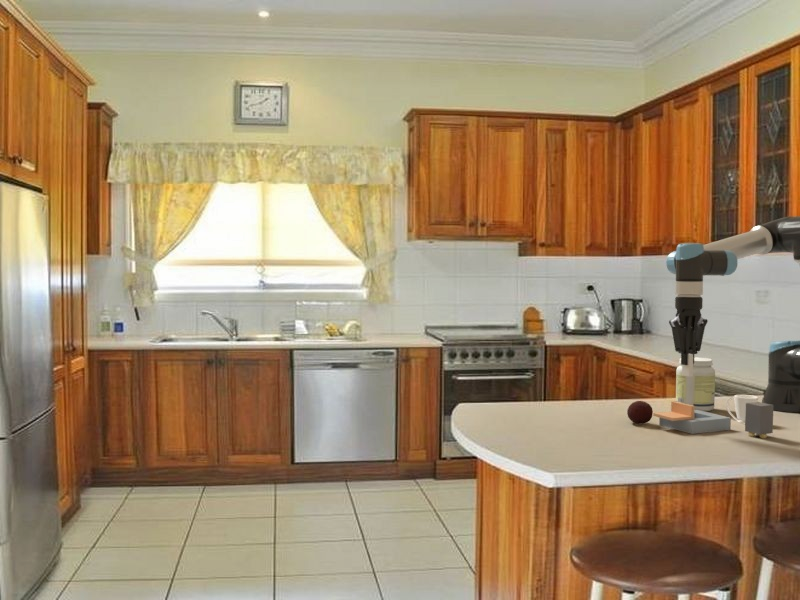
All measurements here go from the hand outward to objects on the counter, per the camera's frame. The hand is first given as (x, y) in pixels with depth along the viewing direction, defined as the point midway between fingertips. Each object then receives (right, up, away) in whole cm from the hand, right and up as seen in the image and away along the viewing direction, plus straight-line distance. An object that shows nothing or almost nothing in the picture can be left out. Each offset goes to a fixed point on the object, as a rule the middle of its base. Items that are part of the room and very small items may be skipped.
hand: (687, 375), depth 226 cm
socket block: (+3, -16, +2) cm, 16 cm away
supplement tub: (+14, -14, +31) cm, 37 cm away
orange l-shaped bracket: (-5, -12, -1) cm, 13 cm away
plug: (+17, -16, -9) cm, 25 cm away
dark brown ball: (-12, -16, +6) cm, 21 cm away
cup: (+21, -16, +11) cm, 28 cm away
